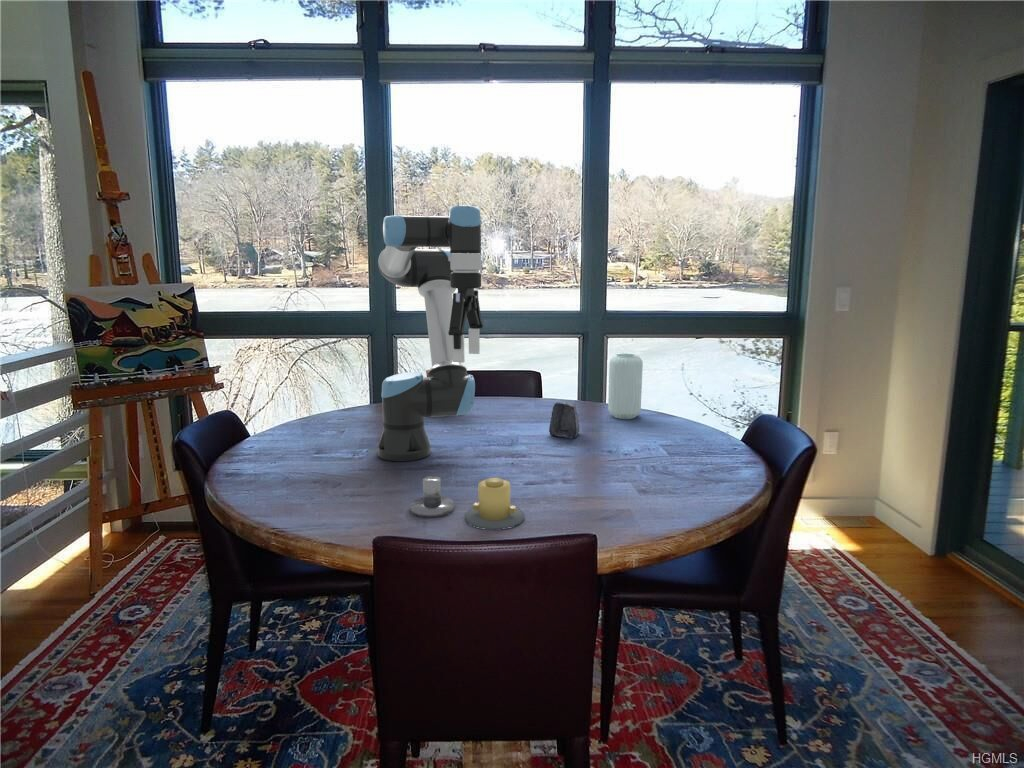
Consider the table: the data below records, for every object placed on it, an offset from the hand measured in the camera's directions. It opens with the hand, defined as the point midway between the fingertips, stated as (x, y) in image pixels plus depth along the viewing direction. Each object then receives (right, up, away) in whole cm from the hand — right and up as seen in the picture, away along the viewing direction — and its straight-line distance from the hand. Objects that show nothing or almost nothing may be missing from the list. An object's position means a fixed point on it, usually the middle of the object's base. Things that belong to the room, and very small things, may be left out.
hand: (466, 357), depth 163 cm
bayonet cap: (+7, -35, -19) cm, 41 cm away
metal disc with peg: (-7, -35, -14) cm, 38 cm away
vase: (+52, -18, +70) cm, 89 cm away
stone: (+29, -23, +47) cm, 60 cm away
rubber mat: (+8, -36, -19) cm, 41 cm away
